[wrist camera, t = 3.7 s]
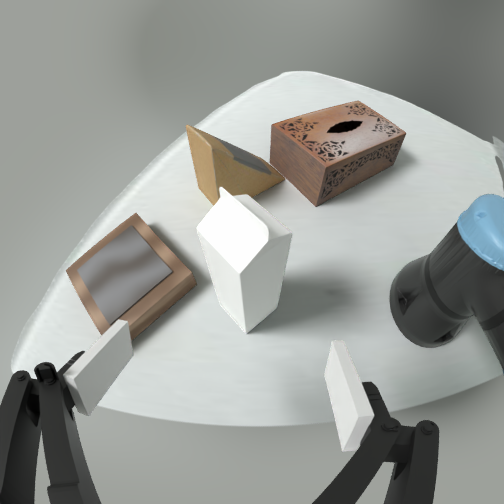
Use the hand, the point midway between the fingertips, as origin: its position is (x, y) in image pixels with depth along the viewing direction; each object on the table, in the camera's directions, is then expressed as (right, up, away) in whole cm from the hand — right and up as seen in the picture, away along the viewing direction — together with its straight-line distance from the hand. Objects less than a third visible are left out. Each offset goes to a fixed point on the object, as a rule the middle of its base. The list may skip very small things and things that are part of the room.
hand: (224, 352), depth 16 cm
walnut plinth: (-18, +1, +25) cm, 31 cm away
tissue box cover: (+20, +25, +40) cm, 52 cm away
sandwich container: (0, +19, +37) cm, 42 cm away
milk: (+1, -2, +24) cm, 24 cm away
